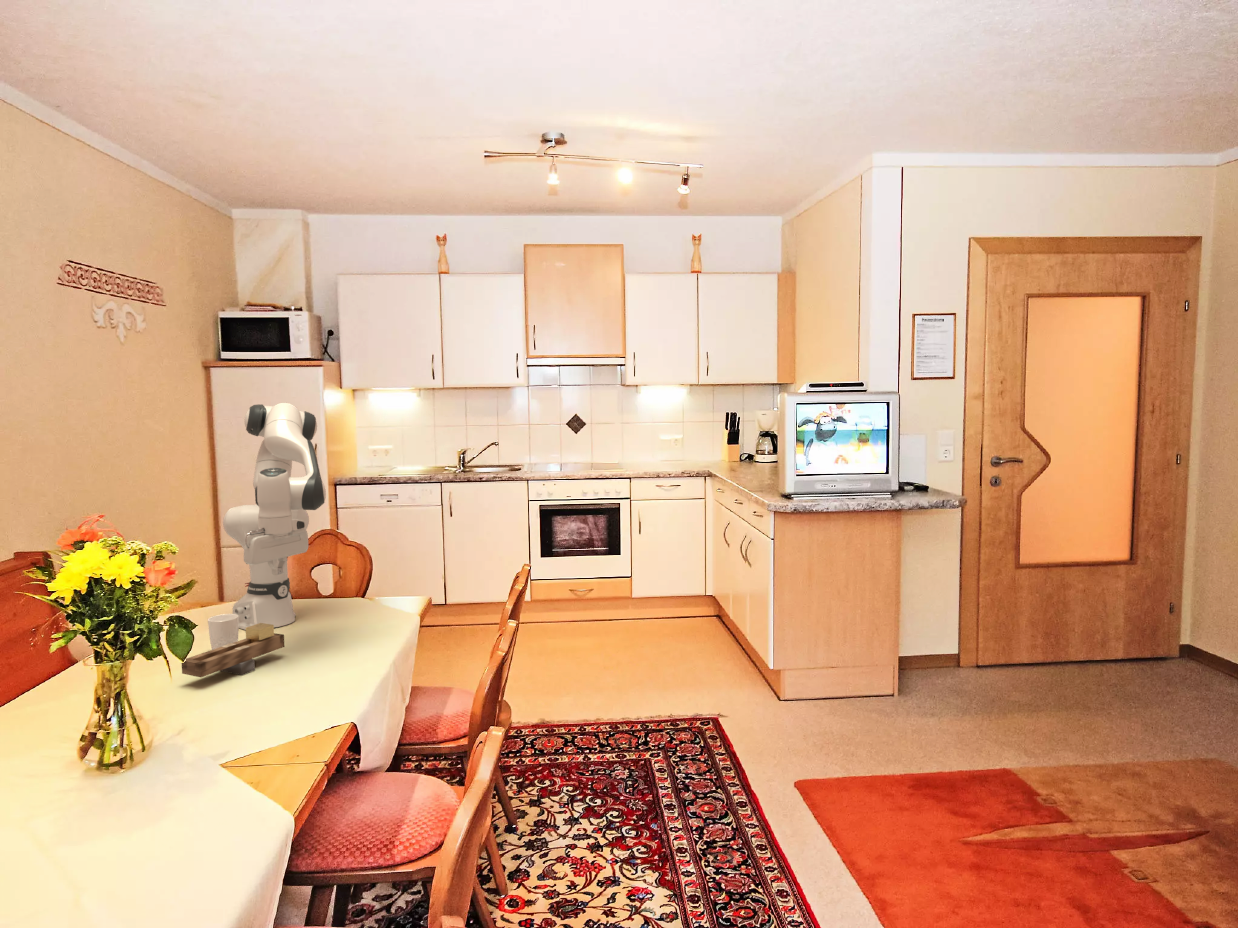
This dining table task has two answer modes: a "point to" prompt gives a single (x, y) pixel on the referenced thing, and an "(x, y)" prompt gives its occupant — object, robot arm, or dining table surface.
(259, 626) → the rider
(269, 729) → the dining table surface
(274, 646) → the beam
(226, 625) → the white cup
